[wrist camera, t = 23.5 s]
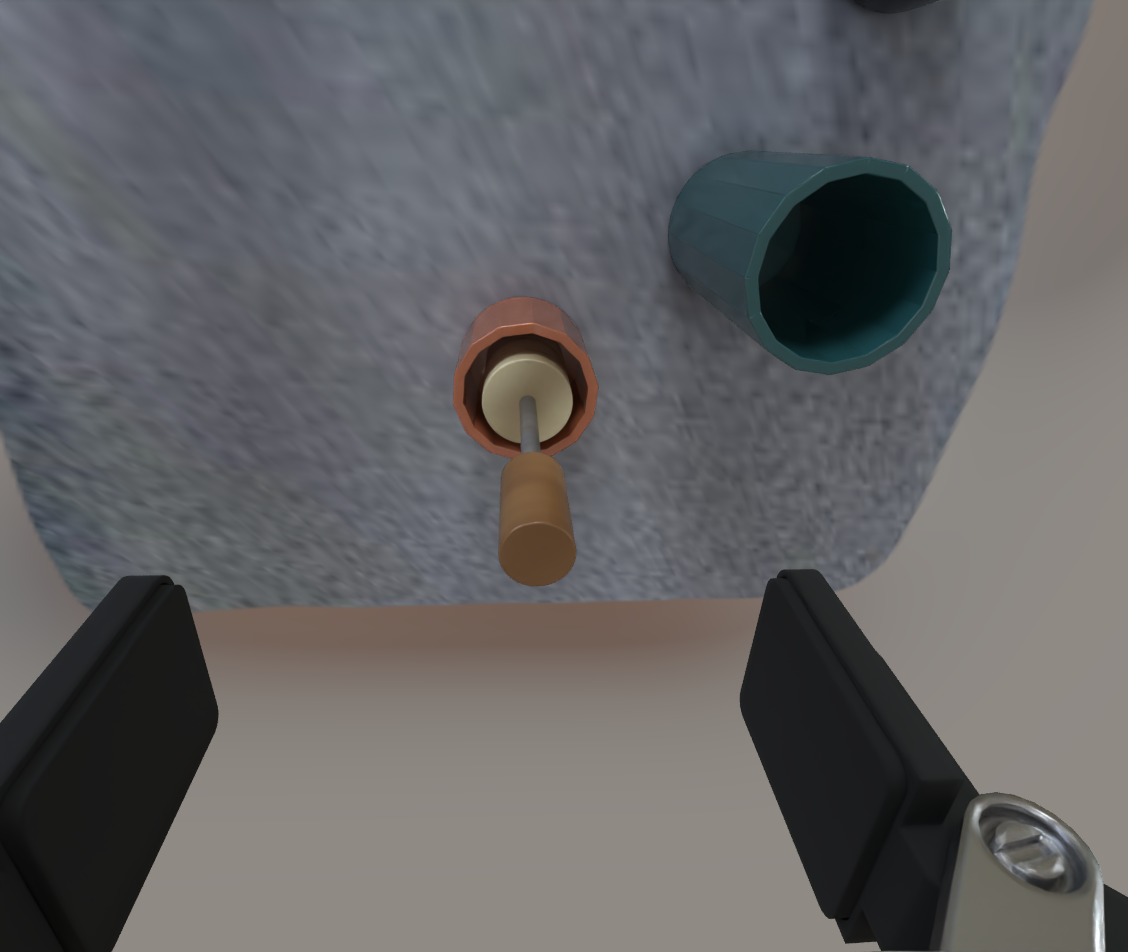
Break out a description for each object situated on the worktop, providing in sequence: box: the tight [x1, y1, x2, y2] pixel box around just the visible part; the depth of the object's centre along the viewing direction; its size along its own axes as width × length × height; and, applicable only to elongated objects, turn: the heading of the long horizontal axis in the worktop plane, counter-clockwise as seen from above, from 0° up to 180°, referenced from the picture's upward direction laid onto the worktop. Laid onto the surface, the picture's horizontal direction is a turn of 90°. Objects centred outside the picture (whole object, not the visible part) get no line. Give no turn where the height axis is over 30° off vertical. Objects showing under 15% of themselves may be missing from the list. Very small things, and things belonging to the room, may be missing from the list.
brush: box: [482, 333, 576, 586], centre depth 29 cm, size 4×4×19 cm
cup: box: [668, 151, 952, 375], centre depth 29 cm, size 7×7×13 cm
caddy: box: [453, 297, 598, 459], centre depth 35 cm, size 7×7×6 cm
